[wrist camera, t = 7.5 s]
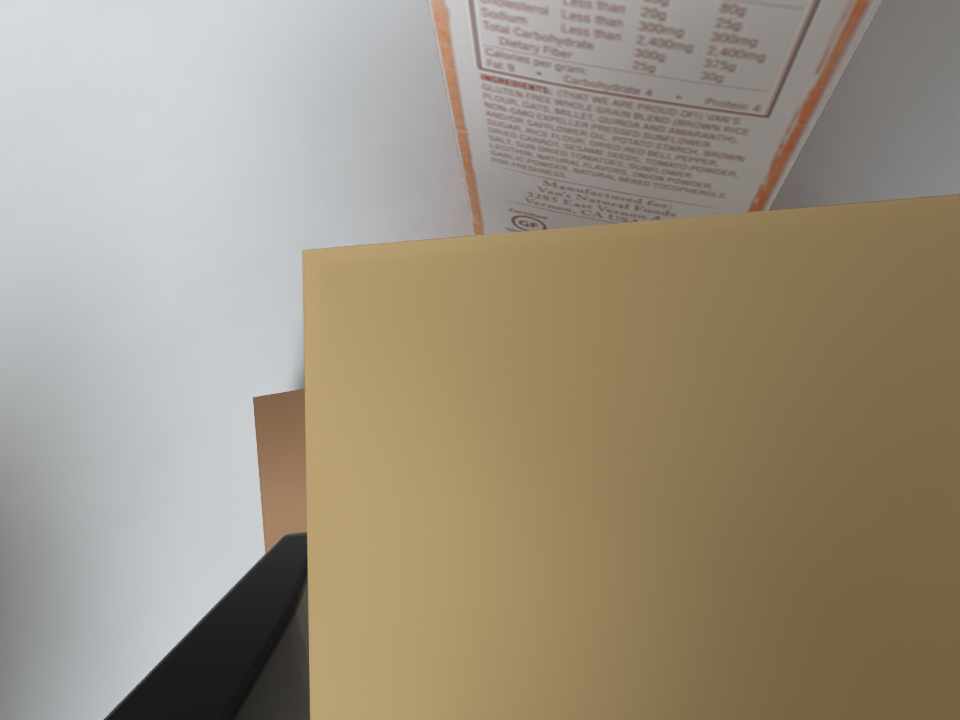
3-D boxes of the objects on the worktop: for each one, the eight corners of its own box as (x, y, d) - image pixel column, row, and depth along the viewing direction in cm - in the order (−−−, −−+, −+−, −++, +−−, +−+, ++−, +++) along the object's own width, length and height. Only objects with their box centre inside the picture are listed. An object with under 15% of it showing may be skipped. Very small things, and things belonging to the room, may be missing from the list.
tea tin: (750, 779, 16) (1495, 1109, 4) (458, 803, 16) (318, 1211, 4) (706, 513, 17) (1143, 178, 5) (440, 537, 17) (302, 251, 5)
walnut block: (935, 911, 18) (1012, 968, 15) (344, 1001, 18) (307, 1073, 15) (785, 346, 21) (824, 303, 18) (291, 427, 21) (253, 397, 19)
